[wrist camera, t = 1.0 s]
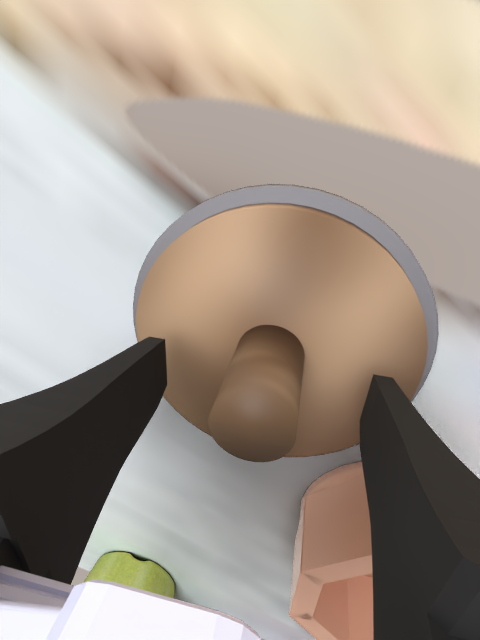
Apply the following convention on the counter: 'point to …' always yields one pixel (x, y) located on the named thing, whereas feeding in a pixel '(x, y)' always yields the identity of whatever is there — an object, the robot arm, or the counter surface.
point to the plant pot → (132, 573)
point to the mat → (318, 201)
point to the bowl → (334, 558)
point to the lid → (280, 328)
